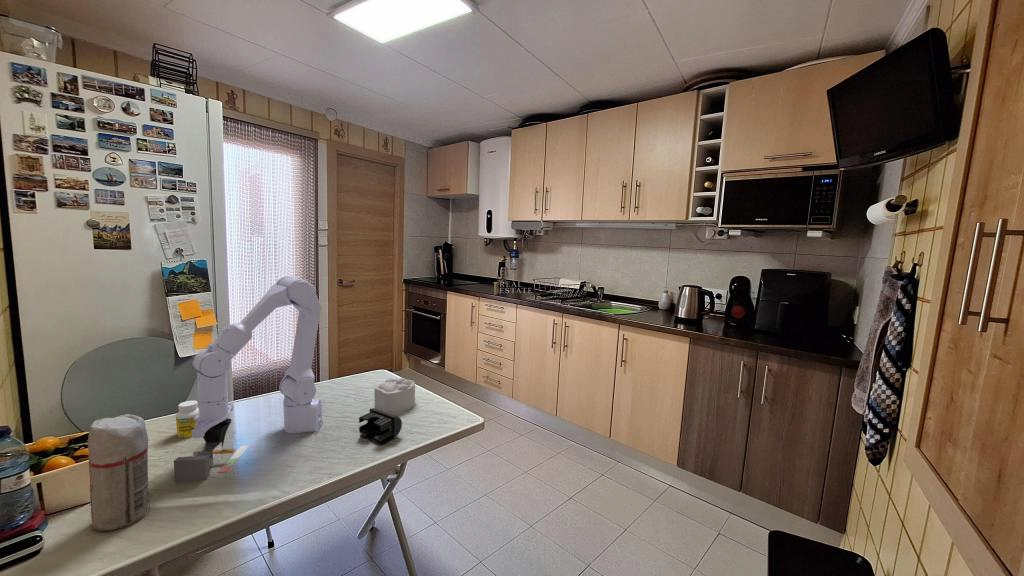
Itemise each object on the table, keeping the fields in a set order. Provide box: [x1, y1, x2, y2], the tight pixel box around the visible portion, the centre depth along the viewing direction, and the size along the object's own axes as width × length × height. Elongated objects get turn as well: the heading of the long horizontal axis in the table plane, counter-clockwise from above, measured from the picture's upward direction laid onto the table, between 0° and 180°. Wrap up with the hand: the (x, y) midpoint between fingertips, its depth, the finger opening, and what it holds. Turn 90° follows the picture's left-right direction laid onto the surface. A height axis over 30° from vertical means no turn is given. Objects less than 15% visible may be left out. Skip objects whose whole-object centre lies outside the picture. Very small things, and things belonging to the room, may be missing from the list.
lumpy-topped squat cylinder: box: [374, 377, 416, 415], centre depth 130 cm, size 10×13×9 cm
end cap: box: [358, 407, 403, 447], centre depth 110 cm, size 10×7×7 cm
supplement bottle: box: [175, 400, 199, 439], centre depth 105 cm, size 5×5×10 cm
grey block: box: [192, 442, 236, 468], centre depth 93 cm, size 8×4×4 cm, turn 102°
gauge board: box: [173, 445, 250, 483], centre depth 93 cm, size 12×18×6 cm, turn 12°
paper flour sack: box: [87, 413, 150, 532], centre depth 74 cm, size 8×8×20 cm
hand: (216, 450), depth 96 cm, fingers closed
